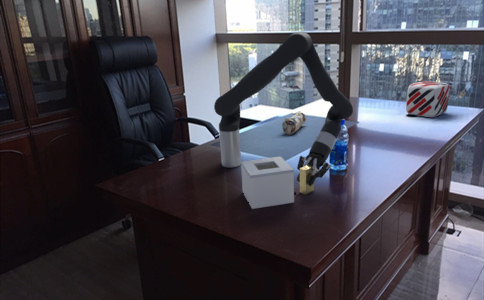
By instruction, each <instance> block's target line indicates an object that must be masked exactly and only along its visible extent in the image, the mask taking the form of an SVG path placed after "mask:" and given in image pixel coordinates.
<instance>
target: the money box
mask: <svg viewBox="0 0 484 300" xmlns="http://www.w3.org/2000/svg"><path fill="white" fill-rule="evenodd" d="M240 166H241V167H240V168H241V184H242V185H241V186H242V194H243V193H244V194H243V196H244V197H245V199H246V200H247V201H246V202H249V203H248V204H249V206H250V208H251V210H255V209H260V208H266V207H274V206H280V205H286V204H292V203H293V204H294V203H295V182H294V181H295V179H294V177H295V174H294V168H292V166H290V164H289V163H287V161H286V160H285V159H284V158H283V157H282V156H273V157H266V158H258V159H251V160H241V165H240Z"/></svg>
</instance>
